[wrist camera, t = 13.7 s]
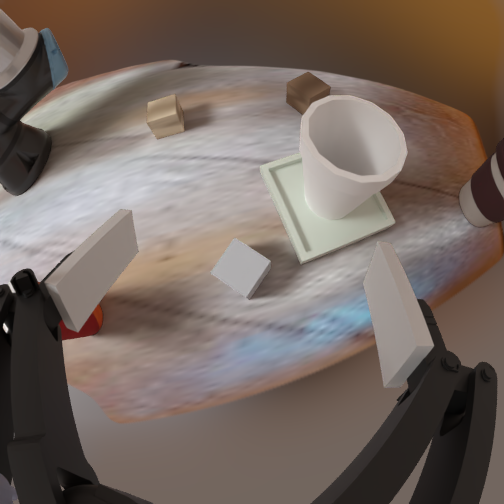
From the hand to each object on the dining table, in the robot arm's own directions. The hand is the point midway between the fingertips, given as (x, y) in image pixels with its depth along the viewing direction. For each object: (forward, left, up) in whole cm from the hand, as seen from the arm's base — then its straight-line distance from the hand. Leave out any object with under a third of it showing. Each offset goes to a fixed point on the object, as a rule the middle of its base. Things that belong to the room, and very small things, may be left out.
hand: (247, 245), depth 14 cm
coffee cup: (+2, +36, -19) cm, 40 cm away
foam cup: (-7, +12, -18) cm, 22 cm away
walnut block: (-23, +17, -19) cm, 34 cm away
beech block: (-28, -4, -19) cm, 34 cm away
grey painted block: (-2, -1, -19) cm, 19 cm away
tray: (-7, +12, -19) cm, 23 cm away
